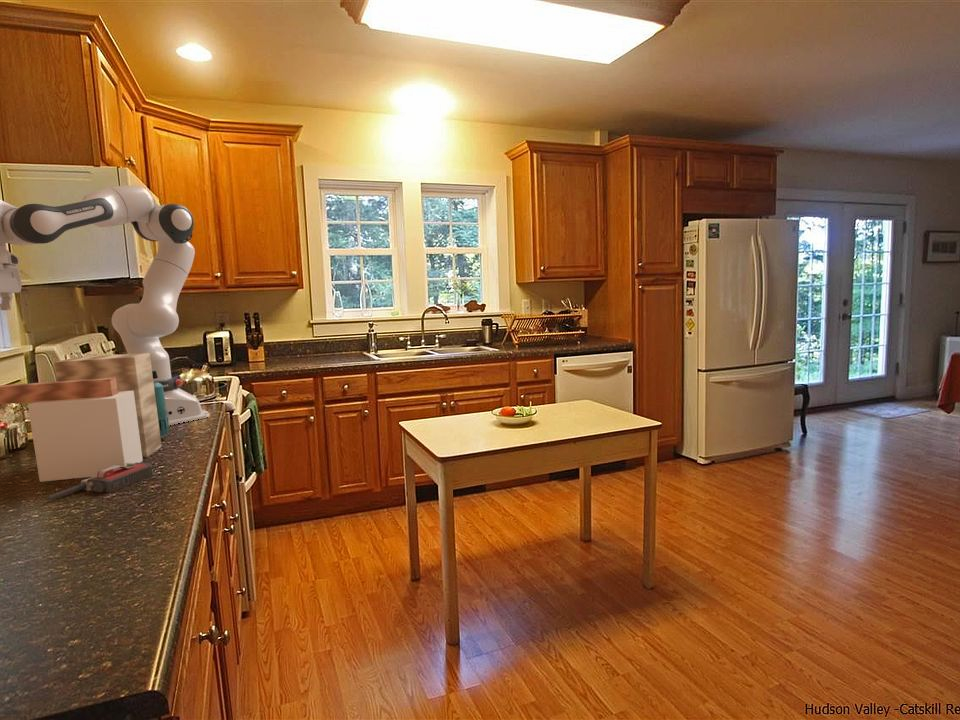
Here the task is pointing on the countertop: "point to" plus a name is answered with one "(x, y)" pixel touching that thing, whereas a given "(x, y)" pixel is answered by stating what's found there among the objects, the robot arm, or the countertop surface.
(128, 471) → the walkie-talkie
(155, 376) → the beverage bottle
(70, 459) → the plain white box
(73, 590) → the countertop surface
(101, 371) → the stand
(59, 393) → the stick
